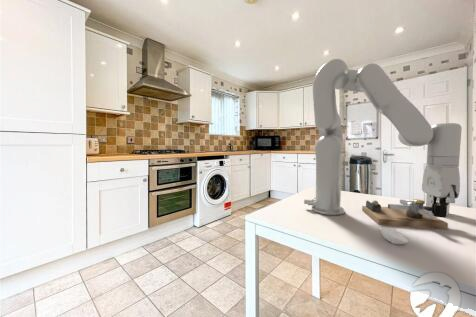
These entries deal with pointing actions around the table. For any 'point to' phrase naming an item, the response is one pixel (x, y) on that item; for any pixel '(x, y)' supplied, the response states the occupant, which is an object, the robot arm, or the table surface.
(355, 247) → the table surface
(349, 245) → the table surface
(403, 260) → the table surface
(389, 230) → the dumpling
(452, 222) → the table surface
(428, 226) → the stand
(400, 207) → the capstan
